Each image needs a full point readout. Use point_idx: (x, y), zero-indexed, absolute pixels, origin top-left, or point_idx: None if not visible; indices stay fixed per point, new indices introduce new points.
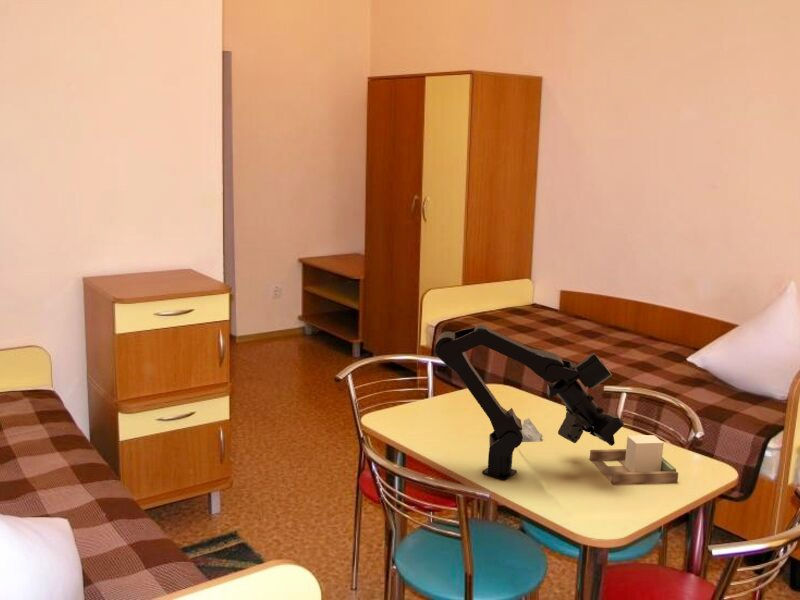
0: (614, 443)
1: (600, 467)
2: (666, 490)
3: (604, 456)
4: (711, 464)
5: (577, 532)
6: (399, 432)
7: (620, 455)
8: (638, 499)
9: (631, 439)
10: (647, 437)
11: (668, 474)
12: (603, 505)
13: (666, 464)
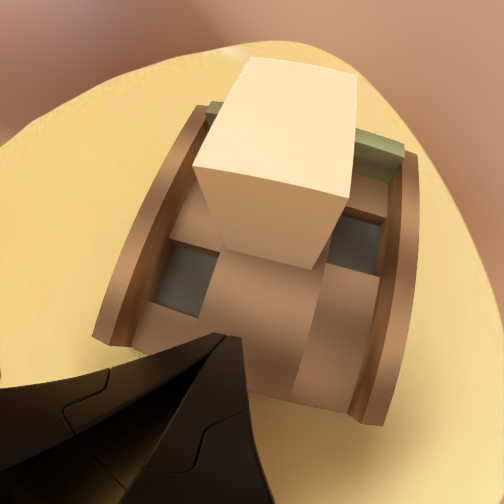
0: (240, 338)
1: None
2: None
3: (139, 289)
4: (273, 48)
5: None
6: None
7: (165, 219)
8: (435, 356)
9: (261, 178)
10: (267, 86)
11: (417, 186)
12: (420, 480)
13: (362, 142)
